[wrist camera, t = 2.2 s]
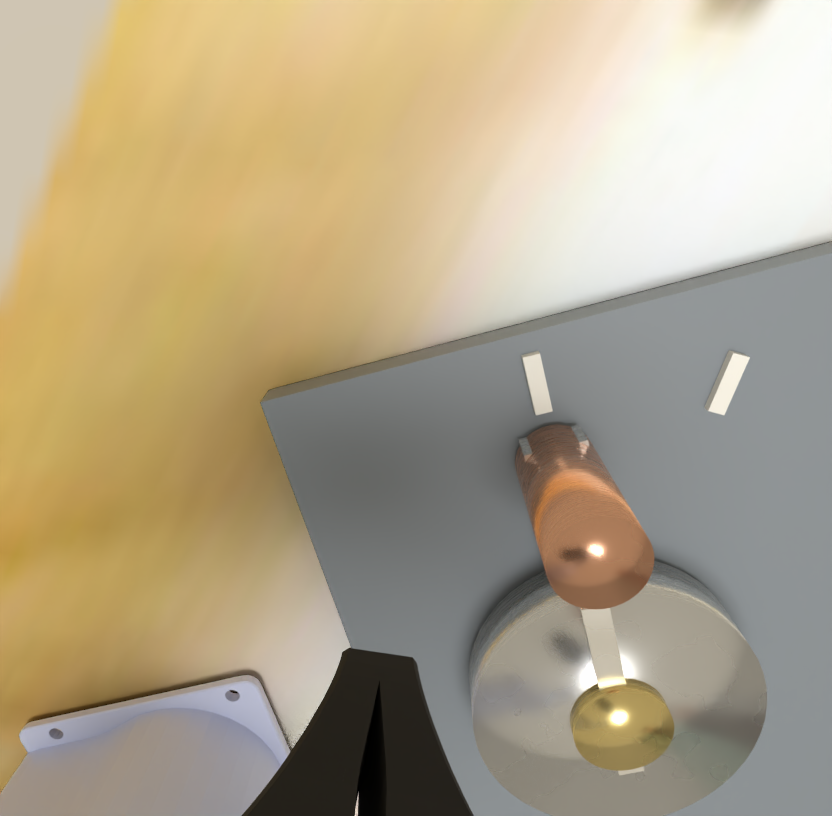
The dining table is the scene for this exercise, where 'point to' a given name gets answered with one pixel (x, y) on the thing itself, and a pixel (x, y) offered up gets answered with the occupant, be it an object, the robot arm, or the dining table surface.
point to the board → (630, 469)
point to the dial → (607, 658)
